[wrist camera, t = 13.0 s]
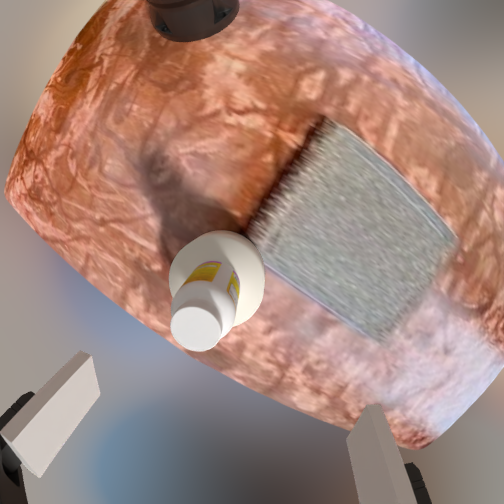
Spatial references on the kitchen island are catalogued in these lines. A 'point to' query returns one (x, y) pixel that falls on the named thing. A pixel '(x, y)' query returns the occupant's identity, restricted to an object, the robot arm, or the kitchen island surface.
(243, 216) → the kitchen island surface
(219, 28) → the robot arm
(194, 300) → the supplement bottle
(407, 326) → the kitchen island surface
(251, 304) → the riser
